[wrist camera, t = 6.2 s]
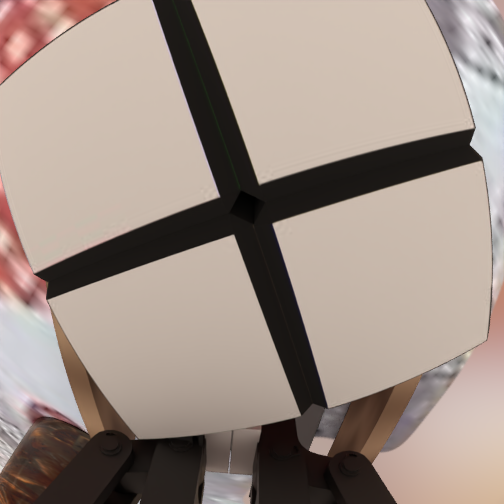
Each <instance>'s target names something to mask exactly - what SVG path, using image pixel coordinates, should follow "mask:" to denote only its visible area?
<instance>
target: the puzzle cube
mask: <svg viewBox="0 0 504 504" xmlns="http://www.w3.org/2000/svg"><path fill="white" fill-rule="evenodd" d="M475 128H476V127H475V123H474V119H473V116H472V112H471V109H470V105H469V102H468V99H467V95H466V92H465V89H464V86H463V83H462V80H461V78H460V75H459V72H458V69H457V67H456V64H455V62H454V59H453V57H452V54H451V52H450V49H449V47H448V45H447V42H446V40H445V38H444V36H443V34H442V31H441V29H440V27H439V25H438V23H437V21H436V19H435V17H434V15H433V13H432V11H431V9H430V8H429V6H428V4H427V2H426V0H116V1H115V2H113V3H111V4H109V5H107V6H105V7H104V8H102V9H100V10H98V11H97V12H95V13H93V14H91V15H90V16H88V17H87V18H85V19H83V20H82V21H80V22H79V23H77V24H75V25H74V26H72V27H71V28H69V29H68V30H66V31H65V32H63V33H62V34H61V35H59V36H58V37H56V38H55V39H54V40H52V41H51V42H50V43H48V44H47V45H46V46H44V47H43V48H42V49H40V50H39V51H38V52H37V53H35V54H34V55H33V56H32V57H30V58H29V59H28V60H27V61H26V62H24V63H23V64H22V65H21V66H20V67H19V68H17V69H16V70H15V71H14V72H13V73H12V74H11V75H10V76H9V77H7V78H6V79H5V80H4V81H3V82H2V83H1V84H0V175H1V179H2V183H3V187H4V191H5V195H6V198H7V202H8V205H9V208H10V212H11V215H12V218H13V221H14V224H15V227H16V230H17V233H18V236H19V238H20V241H21V244H22V246H23V249H24V252H25V254H26V257H27V259H28V262H29V264H30V267H31V269H32V271H33V274H34V275H36V276H38V277H40V278H41V279H43V280H45V281H46V282H48V287H47V294H46V300H47V302H48V304H49V306H50V308H51V310H52V312H53V314H54V316H55V318H56V320H57V321H58V323H59V325H60V327H61V329H62V331H63V332H64V334H65V336H66V338H67V339H68V341H69V343H70V345H71V346H72V348H73V350H74V351H75V353H76V355H77V356H78V358H79V359H80V361H81V363H82V364H83V366H84V367H85V369H86V370H87V372H88V373H89V375H90V376H91V378H92V379H93V381H94V382H95V384H96V385H97V387H98V388H99V389H100V391H101V392H102V394H103V395H104V396H105V398H106V399H107V401H108V402H109V403H110V405H111V406H112V407H113V409H114V410H115V411H116V413H117V414H118V415H119V416H120V418H121V419H122V420H123V421H124V423H125V424H126V425H127V426H128V428H129V429H130V430H131V431H132V432H133V434H134V435H135V436H136V437H137V438H138V439H139V440H141V439H162V438H176V437H187V436H197V435H205V434H213V433H220V432H227V431H233V430H239V429H245V428H250V427H256V426H261V425H266V424H271V423H275V422H280V421H284V420H288V419H292V418H296V417H300V416H302V415H303V414H304V413H305V412H306V411H307V410H308V408H309V407H310V406H311V405H312V404H315V405H318V406H321V407H324V408H327V409H331V408H334V407H337V406H340V405H343V404H347V403H350V402H353V401H356V400H359V399H361V398H364V397H367V396H370V395H373V394H375V393H378V392H381V391H383V390H386V389H388V388H391V387H393V386H396V385H398V384H401V383H403V382H406V381H408V380H410V379H413V378H415V377H417V376H419V375H422V374H424V373H426V372H428V371H430V370H432V369H435V368H437V367H439V366H441V365H443V364H445V363H447V362H449V361H451V360H453V359H455V358H457V357H458V356H460V355H462V354H464V353H466V352H468V351H470V350H471V349H473V348H475V347H477V346H478V345H480V344H482V343H484V342H485V341H487V338H488V333H489V326H490V316H491V302H492V279H493V253H492V230H491V216H490V206H489V197H488V189H487V182H486V176H485V170H484V164H483V159H482V157H481V156H480V155H479V154H478V153H477V152H476V151H475V150H474V149H473V148H472V147H471V146H470V142H471V140H472V137H473V134H474V131H475Z"/></svg>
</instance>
